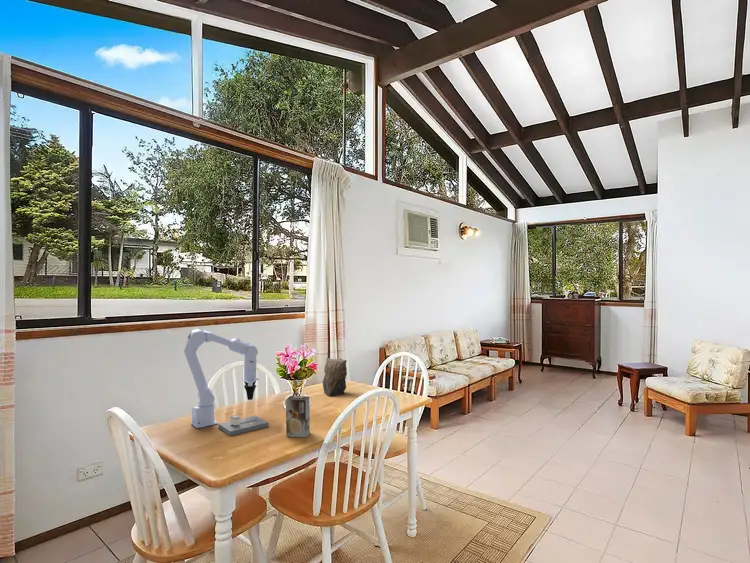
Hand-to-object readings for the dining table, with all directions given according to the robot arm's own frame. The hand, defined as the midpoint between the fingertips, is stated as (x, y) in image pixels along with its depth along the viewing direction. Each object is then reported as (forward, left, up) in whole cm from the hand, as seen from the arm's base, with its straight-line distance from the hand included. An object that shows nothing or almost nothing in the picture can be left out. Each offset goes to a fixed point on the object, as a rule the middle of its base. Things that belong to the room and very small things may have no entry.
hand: (250, 397), depth 211 cm
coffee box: (+6, -35, -10) cm, 37 cm away
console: (-8, -11, -10) cm, 17 cm away
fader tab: (-12, -11, -7) cm, 18 cm away
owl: (+56, +9, -10) cm, 57 cm away
